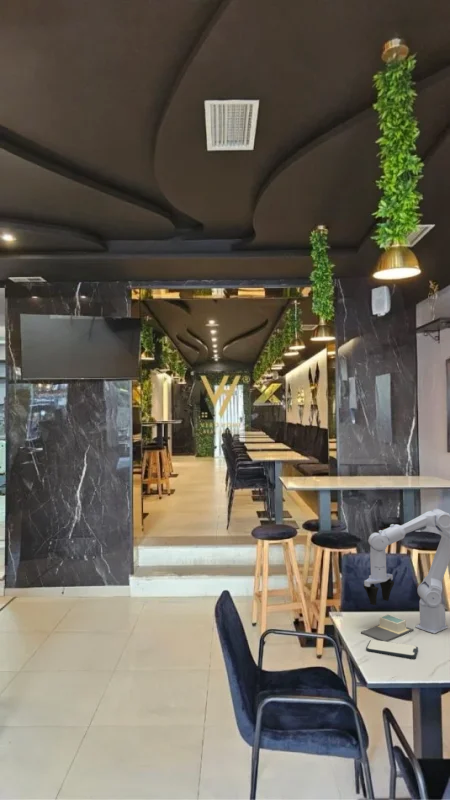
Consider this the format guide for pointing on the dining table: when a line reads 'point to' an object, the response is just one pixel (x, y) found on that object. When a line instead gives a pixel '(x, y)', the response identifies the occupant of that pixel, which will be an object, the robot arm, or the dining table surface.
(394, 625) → the card box
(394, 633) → the mat
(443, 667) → the dining table surface
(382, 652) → the phone case
